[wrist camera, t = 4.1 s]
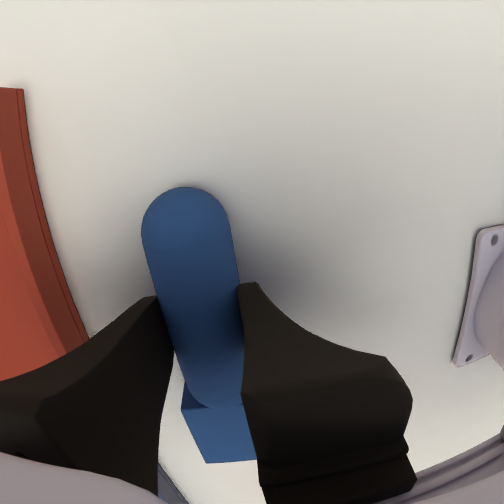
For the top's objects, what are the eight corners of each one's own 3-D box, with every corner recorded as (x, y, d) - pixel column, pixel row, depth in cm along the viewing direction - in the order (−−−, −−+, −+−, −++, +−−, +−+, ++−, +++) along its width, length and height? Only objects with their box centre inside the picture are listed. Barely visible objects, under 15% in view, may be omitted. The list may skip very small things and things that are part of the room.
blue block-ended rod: (134, 190, 11) (106, 209, 8) (235, 172, 11) (235, 185, 8) (207, 428, 15) (205, 470, 13) (274, 421, 15) (280, 463, 13)
